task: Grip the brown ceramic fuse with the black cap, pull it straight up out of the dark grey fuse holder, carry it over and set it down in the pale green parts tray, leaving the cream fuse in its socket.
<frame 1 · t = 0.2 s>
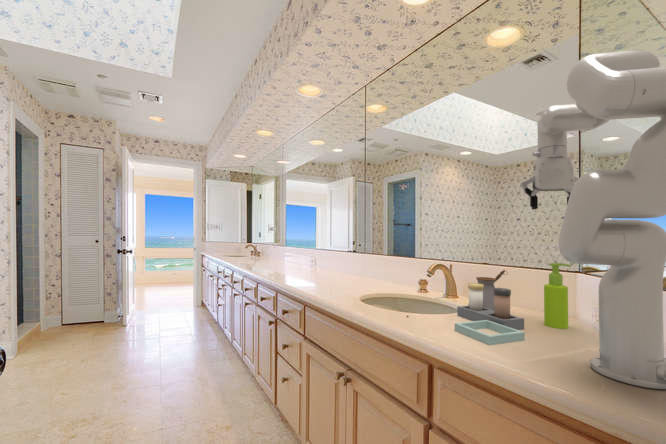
hand: (552, 209, 96), 37 cm above the worktop, tool pointing down, fingers open, 9 cm apart
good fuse: (475, 317, 102), point 1 cm above the worktop, touching fuse holder
parts tray: (488, 338, 84), on the worktop
coffee pot: (492, 313, 113), on the worktop
soap dispenser: (558, 330, 94), on the worktop
fuse holder: (488, 324, 97), on the worktop
blown fuse: (502, 326, 92), point 1 cm above the worktop, touching fuse holder
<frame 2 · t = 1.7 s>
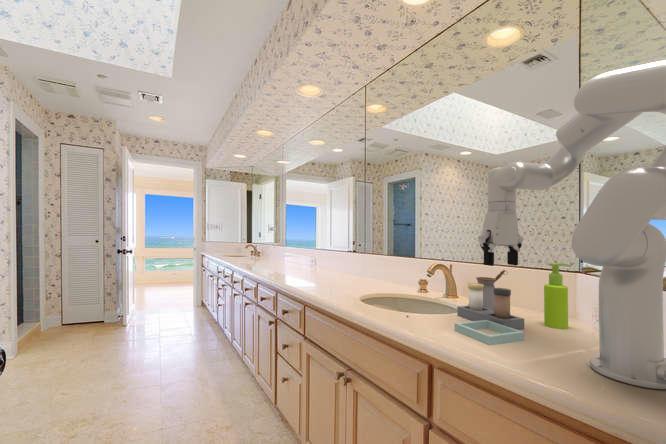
hand: (500, 265, 93), 19 cm above the worktop, tool pointing down, fingers open, 9 cm apart
nothing on the worktop moved.
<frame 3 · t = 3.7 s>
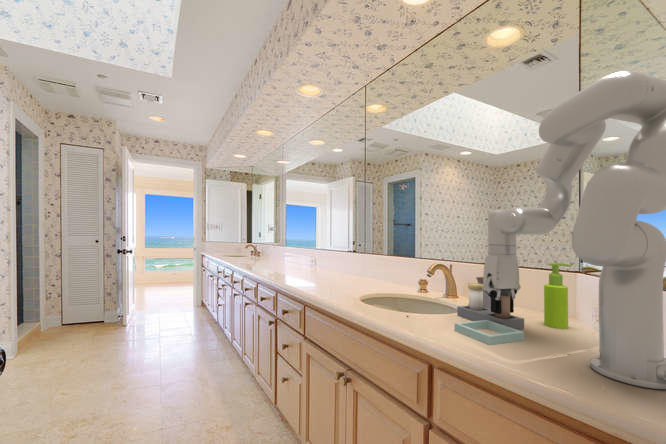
hand: (502, 311, 92), 5 cm above the worktop, tool pointing down, fingers closed on blown fuse, 4 cm apart
blown fuse: (502, 326, 92), point 1 cm above the worktop, touching fuse holder, gripper
everything else where it was.
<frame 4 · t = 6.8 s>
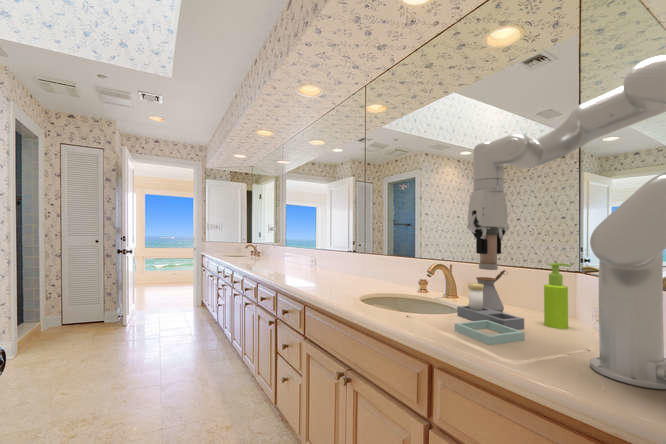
hand: (488, 253, 85), 23 cm above the worktop, tool pointing down, fingers closed on blown fuse, 4 cm apart
blown fuse: (488, 268, 85), point 19 cm above the worktop, touching gripper
everything else where it was.
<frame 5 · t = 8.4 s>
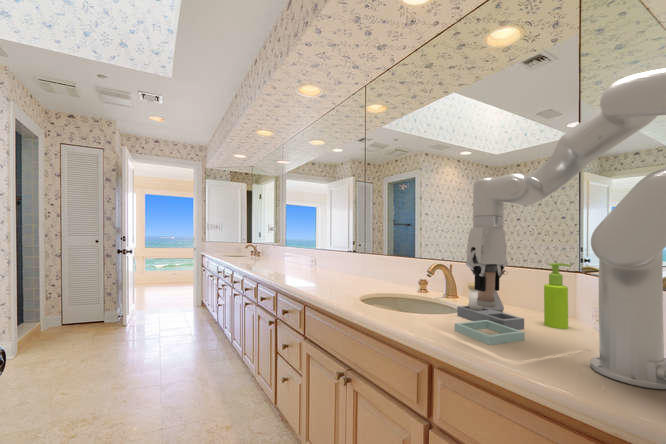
hand: (486, 289, 84), 13 cm above the worktop, tool pointing down, fingers closed on blown fuse, 4 cm apart
blown fuse: (485, 305, 85), point 9 cm above the worktop, touching gripper
everything else where it was.
when the fingers open (6 cm above the worktop, at t = 9.9 s): blown fuse stays where it is, resting on parts tray.
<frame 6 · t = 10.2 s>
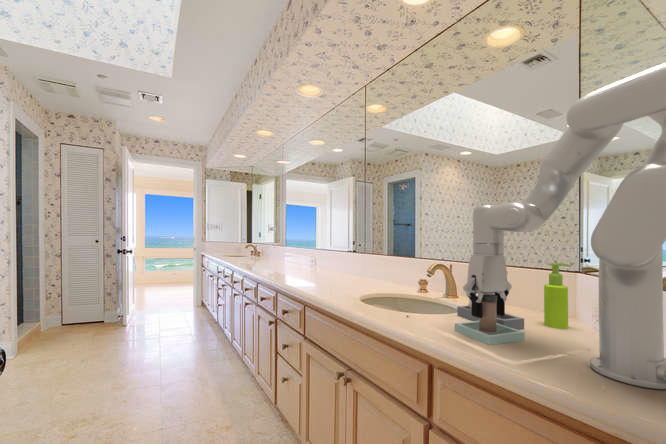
hand: (488, 315, 84), 6 cm above the worktop, tool pointing down, fingers open, 7 cm apart
blown fuse: (487, 335, 84), point 1 cm above the worktop, touching parts tray
everything else where it was.
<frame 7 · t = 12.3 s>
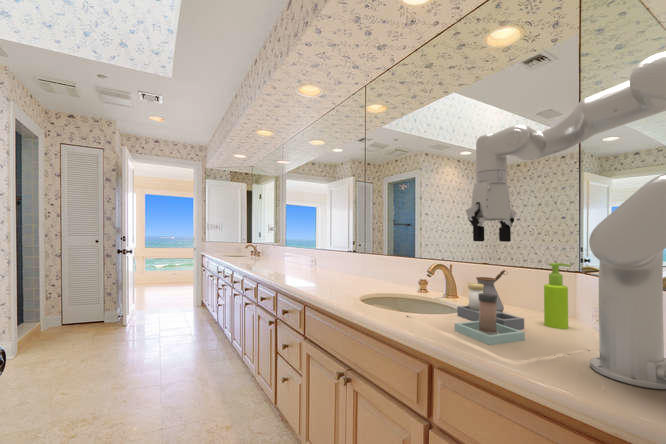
hand: (492, 241, 85), 26 cm above the worktop, tool pointing down, fingers open, 9 cm apart
nothing on the worktop moved.
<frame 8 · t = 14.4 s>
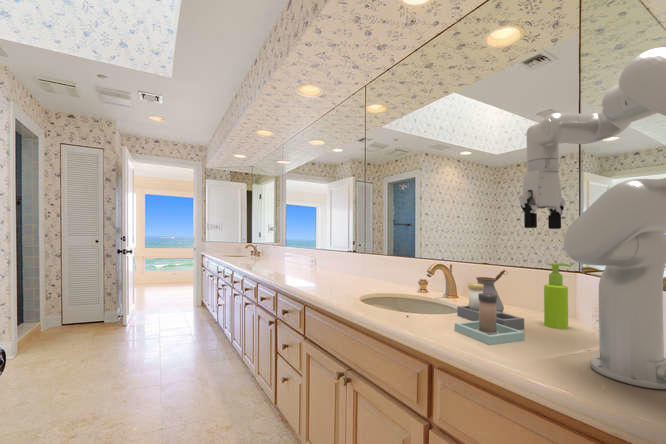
hand: (542, 228, 87), 30 cm above the worktop, tool pointing down, fingers open, 9 cm apart
nothing on the worktop moved.
at the end: blown fuse inside the target area on the parts tray (0.2 cm from its centre), point 0.8 cm above the parts tray's base; blown fuse tilted 0°; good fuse moved 0.1 cm from its start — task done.
